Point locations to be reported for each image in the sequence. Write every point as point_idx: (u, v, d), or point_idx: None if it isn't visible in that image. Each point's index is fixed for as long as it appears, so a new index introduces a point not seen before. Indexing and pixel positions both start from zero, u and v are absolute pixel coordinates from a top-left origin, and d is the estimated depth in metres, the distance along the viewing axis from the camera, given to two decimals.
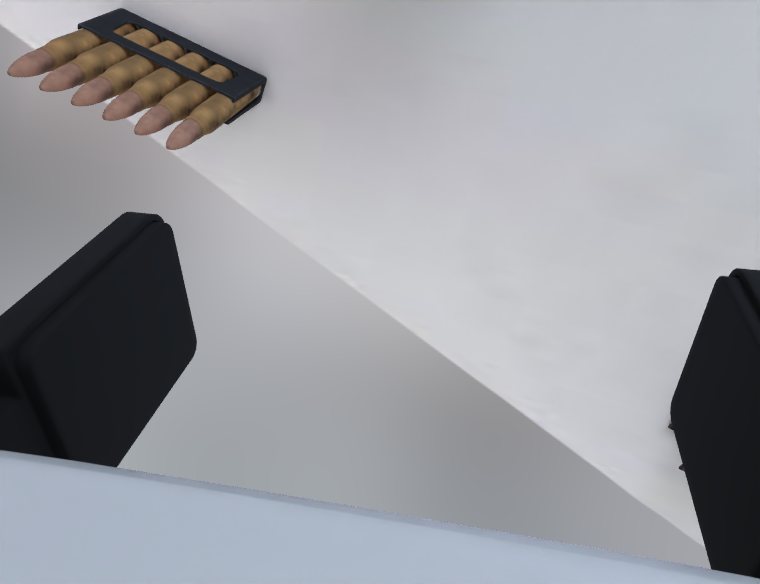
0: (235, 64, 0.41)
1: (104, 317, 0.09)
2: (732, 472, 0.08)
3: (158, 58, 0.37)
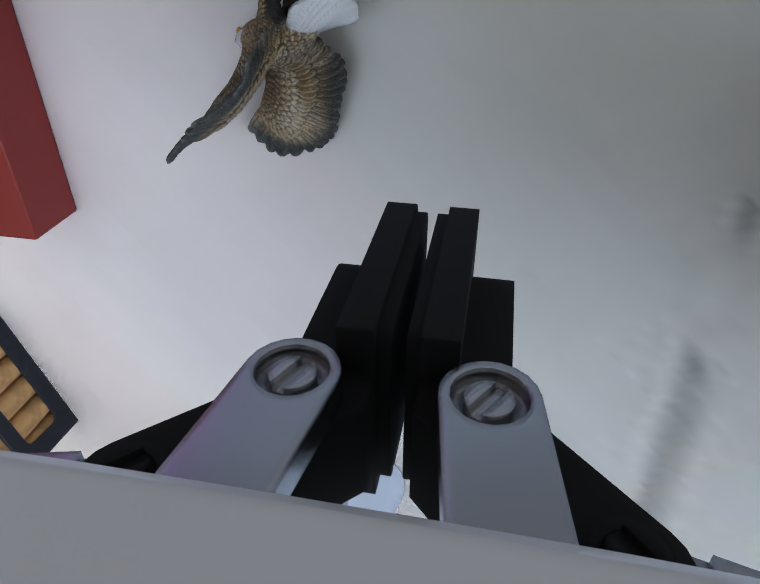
0: (59, 401, 0.44)
1: (408, 302, 0.09)
2: None
3: None
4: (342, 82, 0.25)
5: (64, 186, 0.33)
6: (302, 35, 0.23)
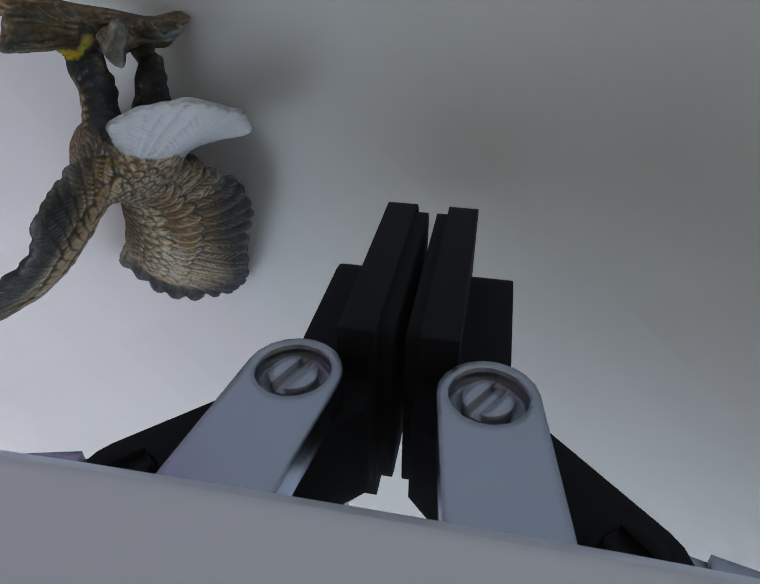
0: None
1: (409, 302, 0.09)
2: None
3: None
4: (244, 216, 0.16)
5: None
6: (149, 163, 0.13)
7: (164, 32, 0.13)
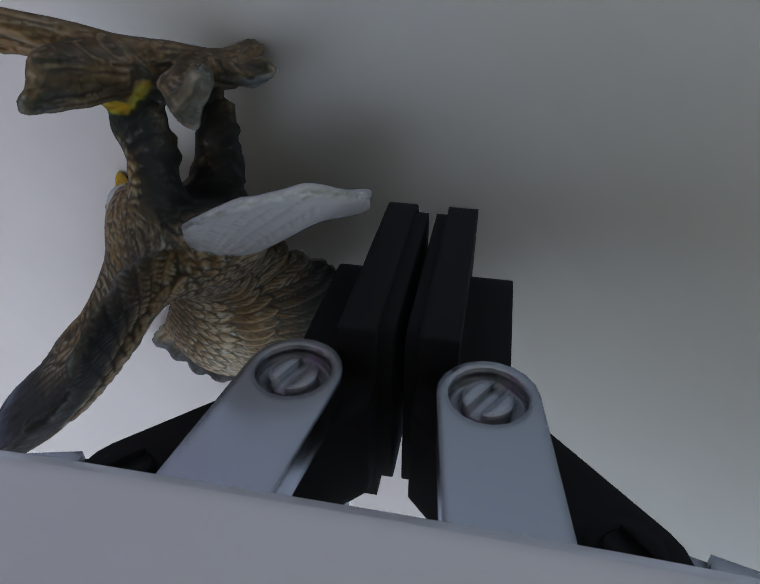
0: None
1: (409, 302, 0.09)
2: None
3: None
4: None
5: None
6: (230, 259, 0.09)
7: (250, 76, 0.09)
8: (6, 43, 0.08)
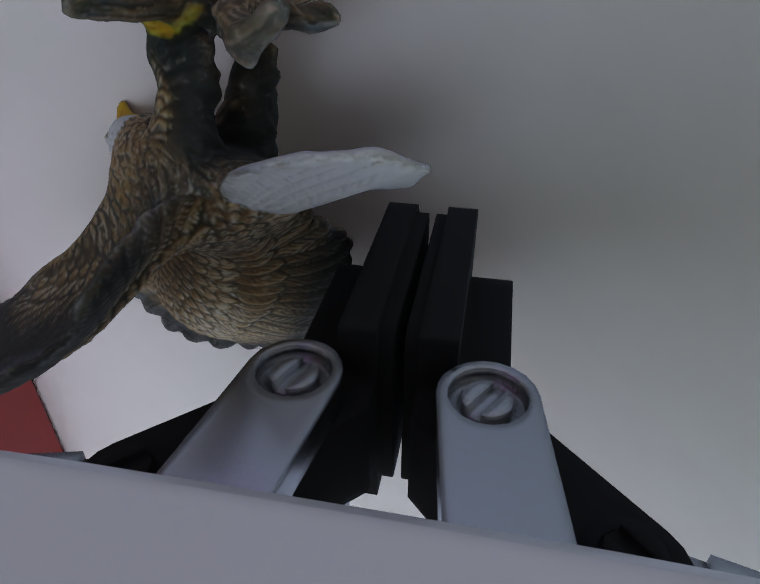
0: None
1: (410, 302, 0.09)
2: None
3: None
4: None
5: (47, 437, 0.18)
6: (262, 216, 0.08)
7: (312, 21, 0.08)
8: None
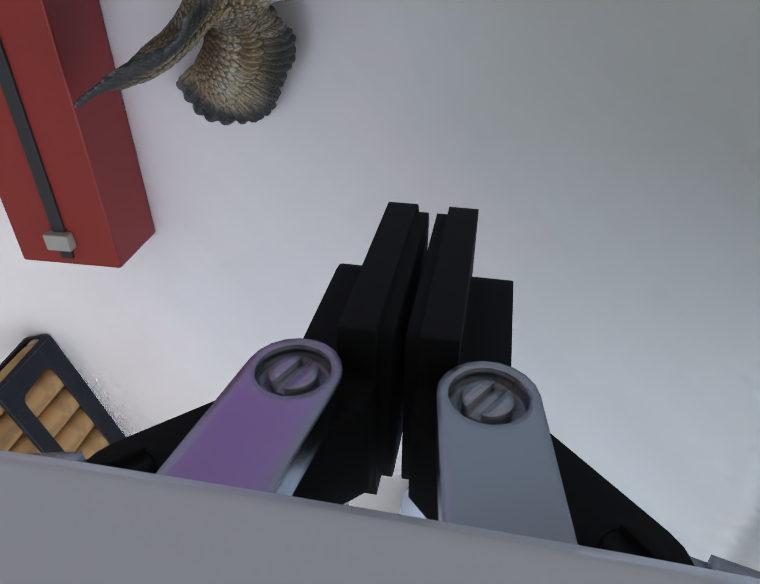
0: (118, 433, 0.41)
1: (409, 302, 0.09)
2: None
3: (51, 450, 0.35)
4: (289, 59, 0.23)
5: (145, 207, 0.30)
6: (254, 1, 0.20)
7: None
8: None
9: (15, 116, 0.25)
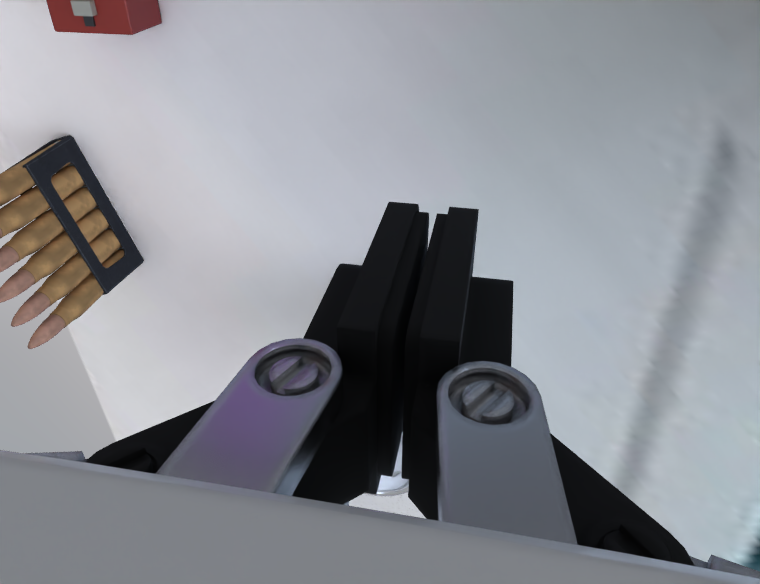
0: (128, 239, 0.47)
1: (409, 302, 0.09)
2: None
3: (71, 228, 0.42)
4: None
5: None
6: None
7: None
8: None
9: None
